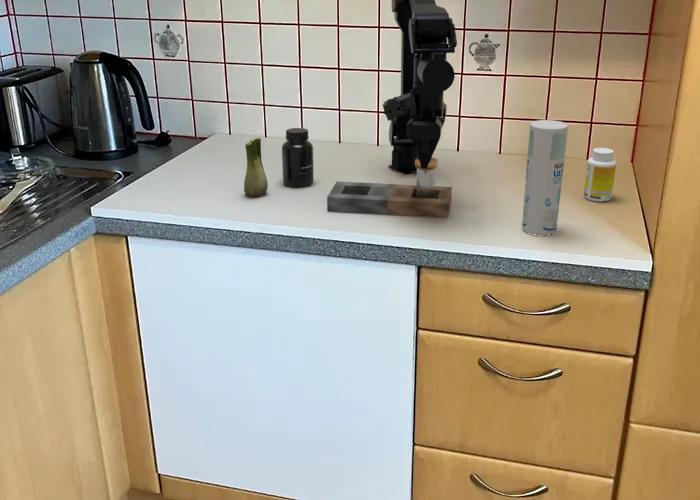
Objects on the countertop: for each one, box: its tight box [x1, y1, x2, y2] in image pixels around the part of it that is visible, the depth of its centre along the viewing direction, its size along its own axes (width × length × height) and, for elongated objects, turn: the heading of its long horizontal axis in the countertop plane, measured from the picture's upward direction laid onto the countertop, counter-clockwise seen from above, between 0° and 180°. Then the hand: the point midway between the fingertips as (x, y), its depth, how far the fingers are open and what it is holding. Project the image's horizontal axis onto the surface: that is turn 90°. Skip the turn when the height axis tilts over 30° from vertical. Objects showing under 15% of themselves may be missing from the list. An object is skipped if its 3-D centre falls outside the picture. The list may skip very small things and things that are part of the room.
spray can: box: [521, 119, 569, 236], centre depth 137 cm, size 6×6×20 cm
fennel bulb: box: [243, 137, 268, 197], centre depth 158 cm, size 6×5×12 cm
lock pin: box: [415, 156, 439, 199], centre depth 150 cm, size 4×4×10 cm
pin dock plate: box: [326, 180, 453, 219], centre depth 153 cm, size 24×10×3 cm, turn 80°
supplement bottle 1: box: [281, 127, 315, 189], centre depth 165 cm, size 7×7×12 cm
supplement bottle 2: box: [583, 147, 617, 203], centre depth 154 cm, size 6×6×10 cm
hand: (426, 161), depth 148 cm, fingers open, 9 cm apart
